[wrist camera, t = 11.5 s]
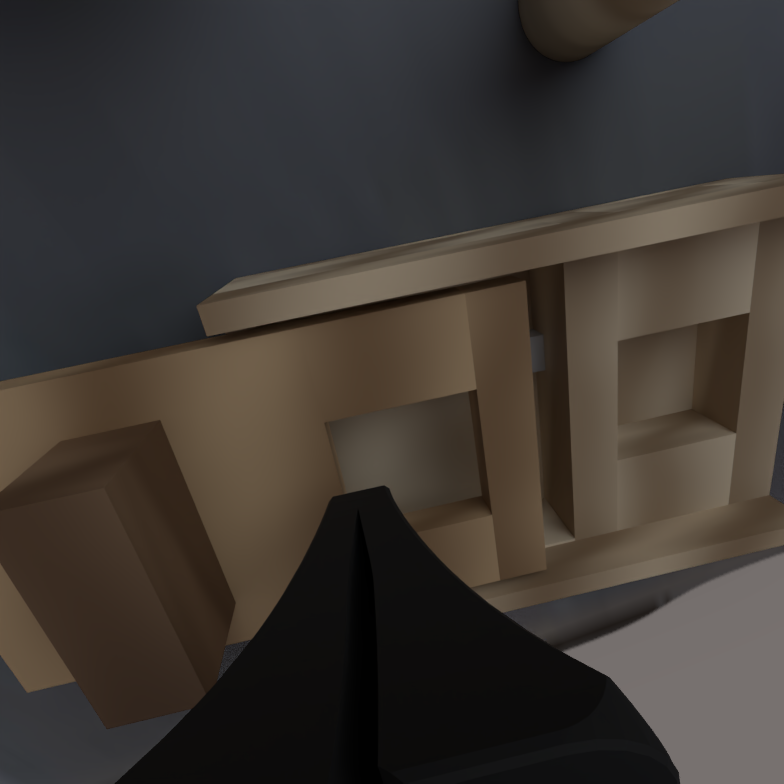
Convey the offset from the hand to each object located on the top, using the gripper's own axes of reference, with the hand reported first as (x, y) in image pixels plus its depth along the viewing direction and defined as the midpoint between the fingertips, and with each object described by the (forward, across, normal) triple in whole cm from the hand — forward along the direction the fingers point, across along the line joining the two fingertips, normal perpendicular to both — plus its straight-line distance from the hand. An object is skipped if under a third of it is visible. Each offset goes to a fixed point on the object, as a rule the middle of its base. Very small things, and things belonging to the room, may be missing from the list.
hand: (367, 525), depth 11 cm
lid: (+3, +3, 0) cm, 4 cm away
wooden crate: (+6, -5, 0) cm, 8 cm away
